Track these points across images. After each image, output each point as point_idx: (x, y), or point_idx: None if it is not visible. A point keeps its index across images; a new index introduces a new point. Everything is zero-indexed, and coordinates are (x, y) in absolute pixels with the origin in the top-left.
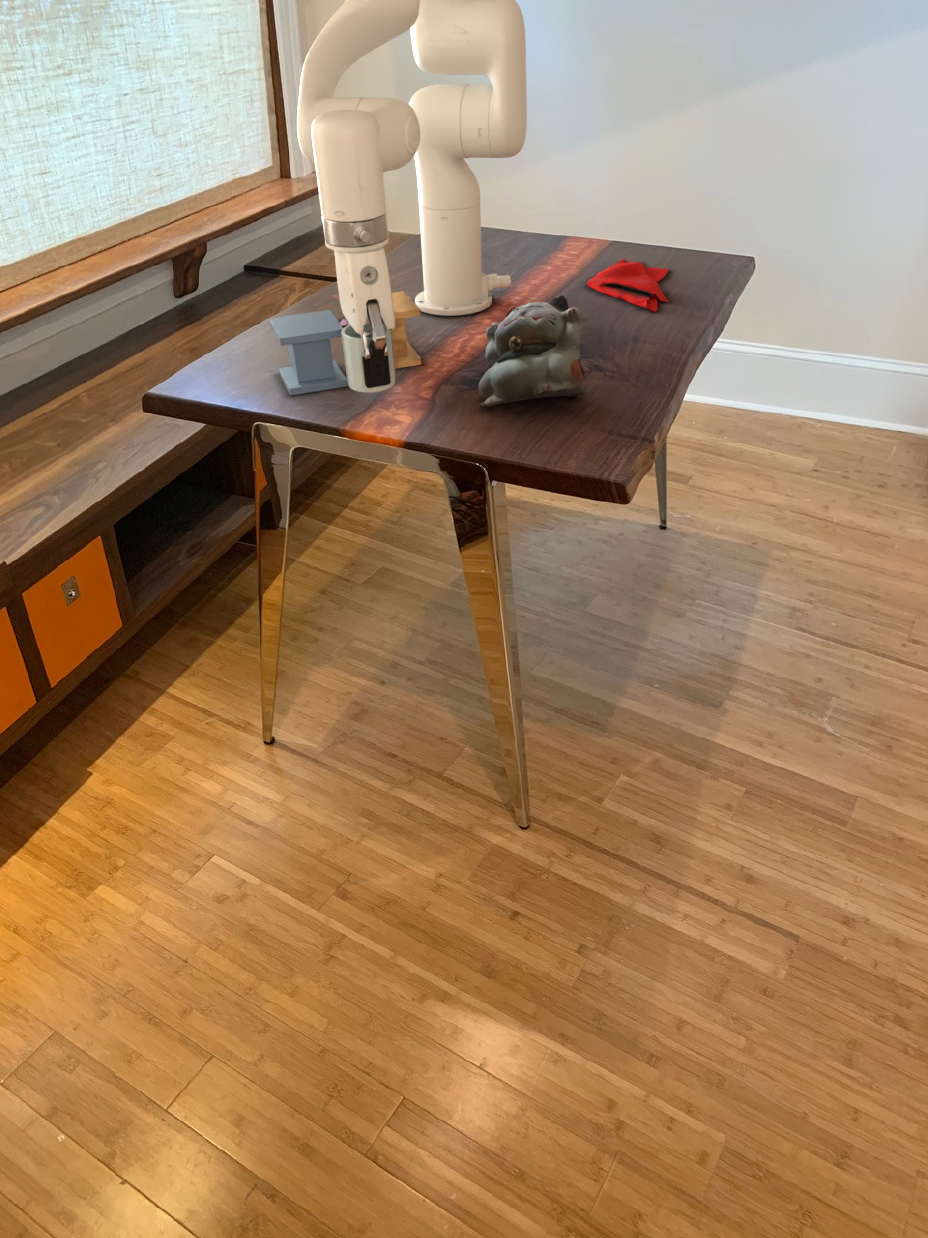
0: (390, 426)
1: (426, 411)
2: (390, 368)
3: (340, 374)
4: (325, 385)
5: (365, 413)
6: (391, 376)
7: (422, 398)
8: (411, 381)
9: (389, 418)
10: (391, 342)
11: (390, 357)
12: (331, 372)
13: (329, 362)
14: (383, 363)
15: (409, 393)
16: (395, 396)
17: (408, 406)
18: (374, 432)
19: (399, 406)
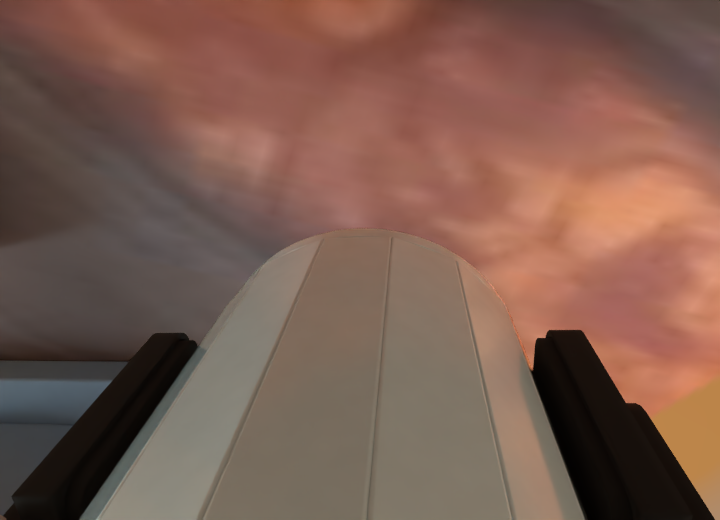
0: (686, 294)
1: (604, 60)
2: (503, 341)
3: (57, 394)
4: None
5: None
6: (490, 304)
7: (405, 36)
8: (134, 41)
9: (587, 276)
10: (497, 470)
11: (512, 390)
12: None
13: None
14: (703, 508)
15: (306, 96)
16: (322, 182)
17: (484, 146)
18: (707, 374)
19: (462, 193)
